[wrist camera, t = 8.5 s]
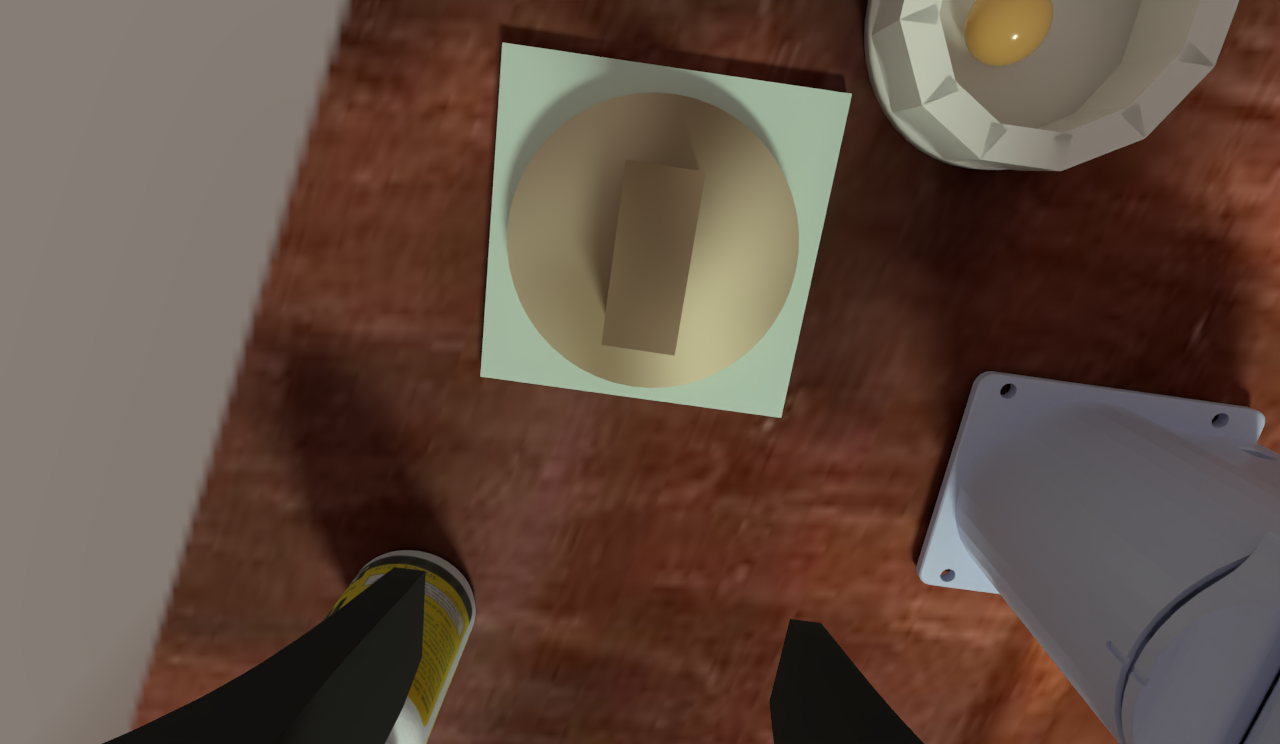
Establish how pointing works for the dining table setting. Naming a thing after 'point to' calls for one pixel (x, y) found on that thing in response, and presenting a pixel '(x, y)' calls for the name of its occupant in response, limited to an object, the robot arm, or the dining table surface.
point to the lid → (653, 240)
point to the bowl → (1036, 74)
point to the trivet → (570, 83)
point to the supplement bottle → (426, 635)
